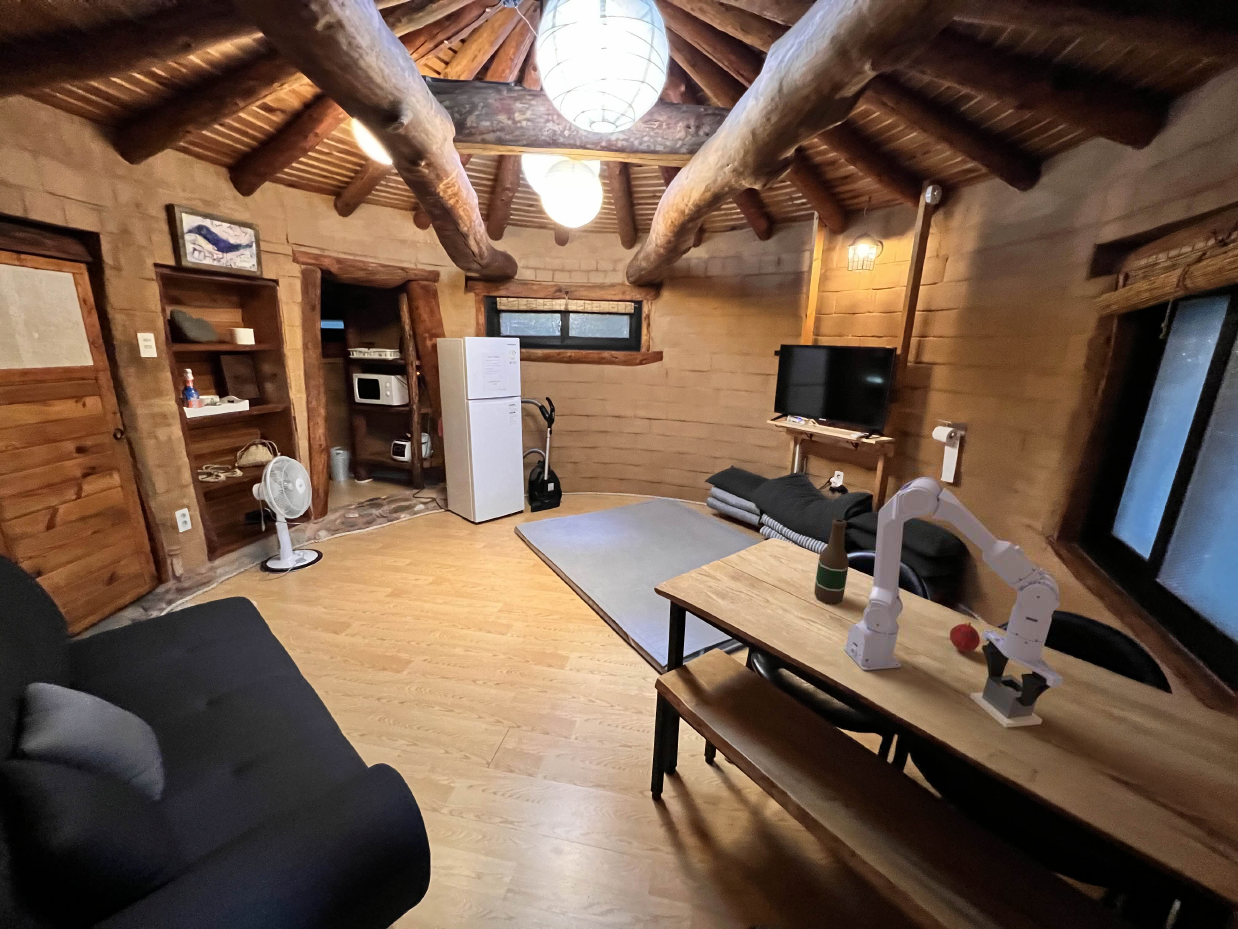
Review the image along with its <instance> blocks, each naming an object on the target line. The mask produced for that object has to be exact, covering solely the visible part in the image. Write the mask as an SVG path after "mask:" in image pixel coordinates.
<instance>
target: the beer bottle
mask: <svg viewBox="0 0 1238 929" xmlns="http://www.w3.org/2000/svg"><path fill="white" fill-rule="evenodd" d="M831 524H832V528H831V530H830V531H831V532H830V537H829V540H828V544H827V546H825V547H824V548H823V549H822V550H821V552H820V554H819V558H818V561H817V562H818V563H817V567H816V568H817V569H816V574H815V575H816V576H815V584H814V593H813V594H814V595H815V598H816V600H817V601H820V602H822V603H824V604H825V605H834V606H835V605H836V606H837V605H838V604H841V603H842V602H843V600H844V596H845V590H846V584H847V579H848V578H847V577H848V571H849V565H850V564H849V562H850V560H849V557H848V554H847V551H846V550H845V535H846V527H847V526H848V524H847V521H846V520H844V519H841V518H835V519H833V520H832V522H831Z"/></svg>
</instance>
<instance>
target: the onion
mask: <svg viewBox="0 0 1238 929" xmlns="http://www.w3.org/2000/svg"><path fill="white" fill-rule="evenodd" d="M971 624H972V623H971V621H969V620H967V621H965V622H964V623H960V624H957V625H955V626H953V627H952V628H951V629H950V632H949V640H950V641H951V643H952V645H953V646H954V647H955V648H956V649H957V650H958V651H959V652H962V653H963V652H966V653H967V652H973V651H975V650H976V649H977V648H978V647H979V646H980V643H981V639H980V635H979V633H978V631H977V630H976V628H975V627H974V626H972V625H971Z"/></svg>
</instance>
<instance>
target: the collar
mask: <svg viewBox="0 0 1238 929" xmlns="http://www.w3.org/2000/svg"><path fill="white" fill-rule="evenodd" d="M1006 686H1009V687H1012V688H1013V689H1015V690H1016V692H1012V691H1011V690H1010V689H1008V688H1007V687H1006ZM1022 687H1023V684H1022V680H1019V679H1018V678H1016V677H1015V676H1014V675H1013V674H1005V675H1002V676H993V677H989V676H987V679H986V682H985V685H984V688H983V689H984V690H983V691H982V692H983V695H982V698H983V699H985V700H986V701H987V702H988V703H989V704H991V705H992V706H993V707H994V708H995V709H996V710H998V711H999V712H1000V713H1001V714H1002V715H1004V716H1005V717H1006V718H1007V719H1008V718H1016V717H1024V716H1032V713H1034V709H1035V705H1036V703H1037V701H1038V698H1037V699H1036V701H1035V702H1034V703H1033V705H1032V706H1022V705H1021V704H1020V697H1021V693H1022Z"/></svg>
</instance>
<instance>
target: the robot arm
mask: <svg viewBox="0 0 1238 929" xmlns="http://www.w3.org/2000/svg"><path fill="white" fill-rule="evenodd" d="M932 513H933V514H932ZM930 514H932V516H931V519H932V520H938V521H944V522H949V523H951V525H953V526H954V527H955V528H957V529H958V530H959V532H960V533H962V534H963V535H964V536H965V537H967V539H969V540H970V541H971V542H972V543H974V544H975V545H976V546H977V547H978V548H979V549H980V550H982V557H981V558H982V561H983V562H984V563H985V564H986V565H987V566H989V568H990V569H991V570H992V571H993V572H995V574H997V575H998V576H999V577H1000V578H1001V580H1003V581H1004V582H1005V583H1006V584H1007V585H1008V586H1009V587H1010V588H1013V589H1014V590H1015V591H1016V596H1017V597H1016V601H1015V603H1014V605H1013V606H1012V609H1011V613H1010V616H1009V620H1008V623H1007V628H1006V630H1005V631H1006V632H1005V635H1001V634H1000V633H997V632H996V631H994V630H992V629H991V630H989V629H988V630H983V634H982V637H981V639H982V640H983V641H985V642H988V643H987V644H983V645H982V646H981V650H982V652H983V655H984V657H985V660H986V664H987V672H988V673H987V674H988V676H987V677H993V676H1002V675H1003V674H1004V672H1005V668H1006V666H1007V664H1008V661H1009V660H1010V661H1013V662H1014V663H1017V664H1018V665H1020V666H1023V667H1024V668H1027V669H1028V670H1029V671H1031V672H1030V673H1022V674H1021V675H1020V676H1021V682H1022V684H1023V687H1022V693H1021V697H1020V704H1021V705H1022V706H1032V705H1033V703H1034V702H1035V701H1036V702H1037V700H1038V698H1039V697H1040V696H1042V694H1043V693H1044V692H1046V691H1047V690H1049V689H1050V688H1057V687H1058V688H1059V687H1062V683H1063V680H1064V677H1063V676H1061V675H1060V674H1059V673H1057V672H1056V671H1055V670H1054V669H1053V668H1052V667H1051V666H1050V665H1049V664H1048V663H1047V662H1046V661H1045V660H1044V659H1043V658H1042V656H1043V649H1044V646H1045V643H1046V640H1047V638H1048V637H1047V636H1048V633H1049V630H1050V626H1051V624H1052V620H1053V619H1052V615H1054V614H1053V613H1054V611H1055V610H1056V609H1057V608H1058V607H1059V606H1060V604H1061V602H1060V591H1059V585H1058V582H1057V580H1056V579H1055V578H1054V577H1053V575H1052V574H1051V573H1049V572H1048V571H1046V570H1044V568H1043V567H1037V565H1035V564H1034V562H1032V560H1030V559H1029V558H1028V557H1027V556H1026V555H1025V554H1024V552H1025V550H1024V548H1022V546H1020V545H1016V546H1015V545H1014V544H1013V543H1012V542H1011V541H1005V540H999V539H998V538H996V537H995V535H993V533H991V531H989V529H987V527H986V526H985V525H983V523H982V522H980V520H979V519H978V518H977V517H976V516H975V515H974V514H973V513H972V512H971V511H970V510H969V509H967V507H966V506H965V505H964V504H963V503H962V502H961V501H960V500H959V499H958V498H957V497H956V496H955V495H954V494H953V493H952V492H951V491H950V490H948V488H946V487H944V488H943V487H942V485H941V483H939V481H938V480H936V479H934V478H932V477H929V476H927V477H926V476H922V477H918V478H916V479H913V480H911V481H909V482H907V483H905V484H904V485H903V486H902V487H901V488H900V489H899V490H898V491H897V492H896V493H895V494H894V495H893V496H892V497H891V498H890V499H889V500H888V501H887V502H886V503H885V504H884V505H883V506H881V508H880V509H879V511H878V516H877V528H876V529H877V530H876V542H875V554H874V568H873V583H872V584H873V585H872V588H871V591H870V595H869V599H868V604H867V606H866V608H865V609H864V610H863V613H862V617H863V619H862V620H860V621H859V622H857V623H854V624H852V625H850V626H849V628H848V633H847V640H846V646H844V647H843V651H845V652H846V653H847V654H848V655H849V656H850V658H852V659H853V661H854V662H855V663H856V664H857V665H858V666H859V667H860V668H861V669H862V670H863V671H870V670H871V671H872V670H881V669H882V670H885V669H896V668H901V667H902V664H901V663H900V662H899V661H898V660H896V659H895V658H894V655H895V648H896V644H897V639H898V635H899V628H900V627H899V626H900V625H899V624H898V621H897V619H898V618H899V615H900V614H901V613H902V611H903V610H904V609H903V608H904V605H903V601H902V599H901V597H900V587H899V581H900V580H899V579H900V578H899V577H900V568H901V566H900V565H901V558H902V557H901V556H902V546H903V545H902V543H903V533H904V523H905V522H907V521H909V520H911V519H913V518H914V519H915V518H920V517H924V516H928V515H930ZM1036 699H1037V700H1036Z"/></svg>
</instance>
